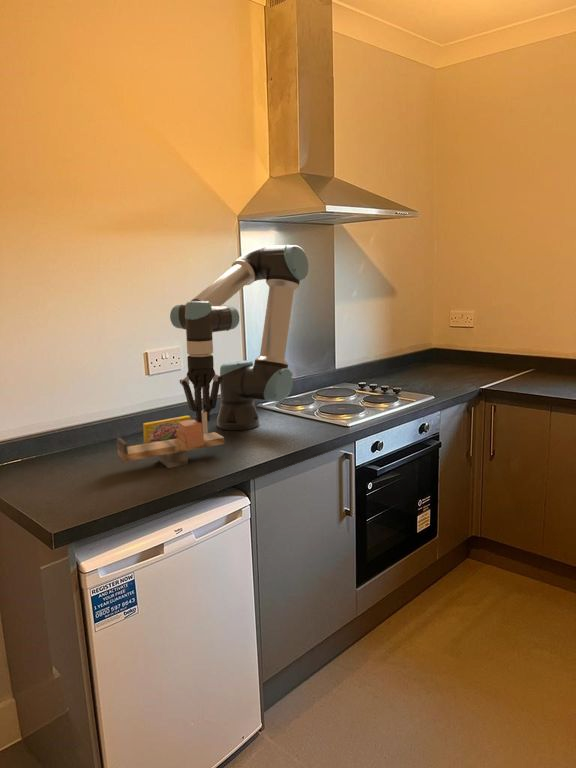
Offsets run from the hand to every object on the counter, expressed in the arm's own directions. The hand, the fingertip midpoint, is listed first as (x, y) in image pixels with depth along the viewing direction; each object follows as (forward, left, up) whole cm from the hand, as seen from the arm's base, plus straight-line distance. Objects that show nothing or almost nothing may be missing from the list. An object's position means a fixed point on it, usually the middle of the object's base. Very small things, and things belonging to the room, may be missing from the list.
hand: (203, 432), depth 178 cm
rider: (+4, 0, -3) cm, 5 cm away
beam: (+10, 0, -8) cm, 12 cm away
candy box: (+5, -19, -8) cm, 21 cm away
